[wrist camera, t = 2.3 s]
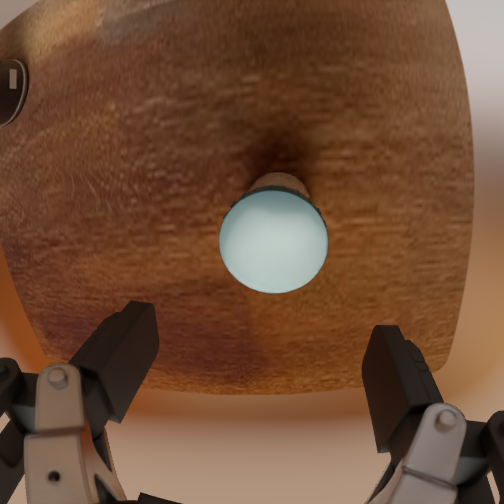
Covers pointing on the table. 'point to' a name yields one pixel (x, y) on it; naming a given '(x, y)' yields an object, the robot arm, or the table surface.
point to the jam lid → (273, 239)
